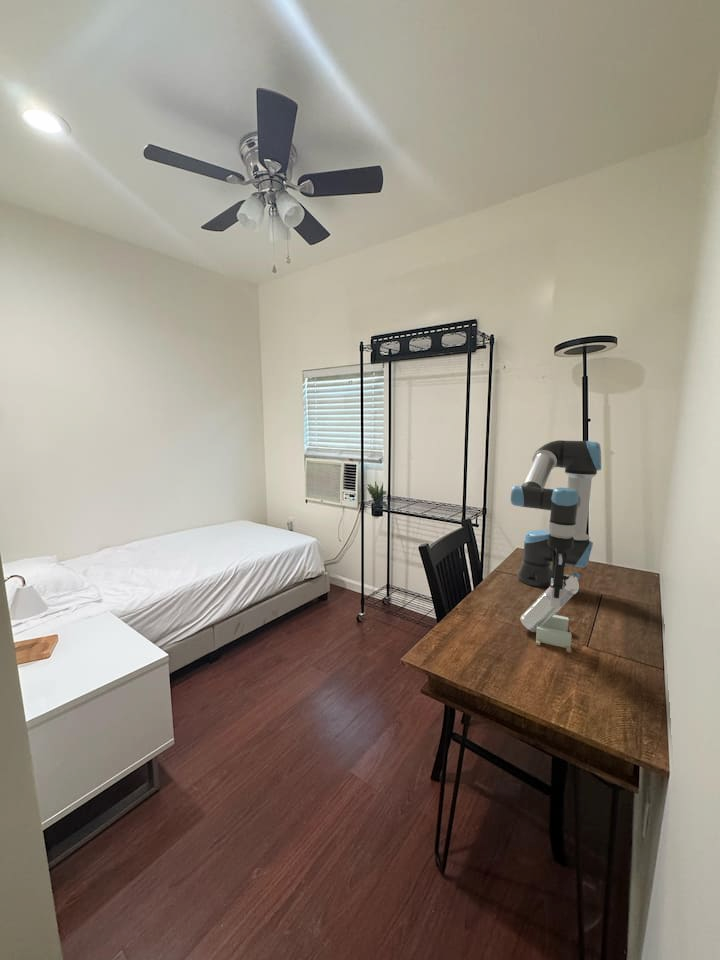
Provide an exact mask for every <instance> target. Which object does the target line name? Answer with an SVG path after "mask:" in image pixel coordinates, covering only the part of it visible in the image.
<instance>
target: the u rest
mask: <svg viewBox="0 0 720 960" xmlns="http://www.w3.org/2000/svg"><path fill="white" fill-rule="evenodd" d="M569 620H570V619H569V617H567V616H563V615H559V614H558V615H557V614H554V616H552V618H550V619H549V621H547V623H545V624H544V625H543V626H542V627H541V626H537V632H535V633H536V635H535V645H537V646H541V643H543V644H547V645H551V646H556V647H561V648H565V650H566V653H572V647H571V645H572V637H573V635H572V632H569V629H568V628H569Z"/></svg>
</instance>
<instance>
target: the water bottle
mask: <svg viewBox="0 0 720 960" xmlns="http://www.w3.org/2000/svg"><path fill="white" fill-rule="evenodd" d="M579 578H581V575H580V574H579V572H577V571H575V572H574V573H573V574H564V575H563V588H562V591H561V600H560V608H559V607H554V606H550V604H551V594H552V587H550V586H548V588H547V589H545V591H543V593H541V594H540V595H539V596H538V598H537V599H536V600H534V602H533V603H532V604H531V605H530V606H529V607H528V608H527V609H526V610H524V612H523V613H522V614H521V616H520V618H519V620H520V622H521V624H522V625H523V626H524V627H525V628H526V630H528V631H530V632H532V633H536V632H537V626H541V627H542V626H543V625H544V624H545V623H547V621H549V619H550V618H552V616H554V615H557V613H558V611H560V610H561V609H562V607H564V605H565V604H566V603H567V602H568V601H570V599H571V598H572V597H574V596H575V595H576V594H577V593H578V592H579V590H580V589H579V588H580V585H579V580H578V579H579ZM552 586H553V584H552Z"/></svg>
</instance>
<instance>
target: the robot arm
mask: <svg viewBox="0 0 720 960" xmlns="http://www.w3.org/2000/svg"><path fill="white" fill-rule="evenodd" d="M601 449H602V448H601V444H600V443H599V442H597V441H588V440H562V439H561V440H560V439H559V440H554V441H550V442H548V443H545V444H544V445H542V446H540V447H539V448H538V449H537V450H536V451H535V452H534V453H533V456H532V459H531V462H532V464H531V466H530V468H529V469H528V472H527V474H526V476H525V478H524V480H523V483H522V484H521V485H514V486H513V487H512V488H511V492H510V504H512V506H515V507H520V508H529V509H536V510H544V511H545V510H546V511H550V516H549V523H548V530H547V529H546V530H545V529H544V530H543V529H535V530H529V531H527V532H526V533H525V536H524V537H525V538H524V540H523V543H524V544H523V545H524V547H523V557H522V563H521V565H520V567H519V570H518V571H517V579H518V580H519V581H520V582H521V583H524V584H526V585H529V586H532V587H538V588H539V587H541V588H545V587H546V588H547V587H548V588H549V587H552V594H551V604H550V606H554V607H559V608H560V600H561V591H562V588H563V575H565V574H564V573H565V568H566V566H571V567H578V568H586V567H587V566H588V563H589V559H590V556H591V553H592V549H593V544H594V542H593V541H590V539H591V537H590V536H589V535H588V533H587V527H588V519H589V509H590V508H589V507H590V498H591V489H592V481H593V478H594V477H596V475H597V474H598V472H599V471H601V470H602V451H601ZM554 468H563V469H564V474H566V475H567V477H568V480H567V487H555V488H553V489H551V488H545V486H546V485H547V481H548V479H549V477H550V474H551V471H552V470H553V469H554ZM552 584H553V586H552Z"/></svg>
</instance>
